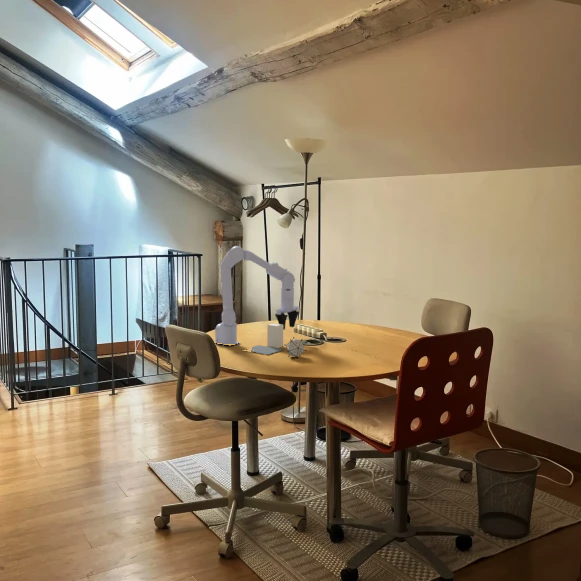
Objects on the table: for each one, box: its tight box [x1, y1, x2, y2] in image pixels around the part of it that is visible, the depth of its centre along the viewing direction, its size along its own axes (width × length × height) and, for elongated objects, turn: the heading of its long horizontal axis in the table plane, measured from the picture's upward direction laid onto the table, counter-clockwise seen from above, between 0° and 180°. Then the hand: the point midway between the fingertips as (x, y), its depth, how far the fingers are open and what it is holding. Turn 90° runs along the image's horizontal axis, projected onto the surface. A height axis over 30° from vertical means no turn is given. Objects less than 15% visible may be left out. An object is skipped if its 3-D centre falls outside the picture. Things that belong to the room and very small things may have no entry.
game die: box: [283, 336, 308, 360], centre depth 252 cm, size 9×8×10 cm
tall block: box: [266, 323, 284, 348], centre depth 271 cm, size 5×5×10 cm
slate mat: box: [250, 344, 285, 356], centre depth 264 cm, size 14×12×1 cm
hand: (287, 328), depth 278 cm, fingers open, 7 cm apart
